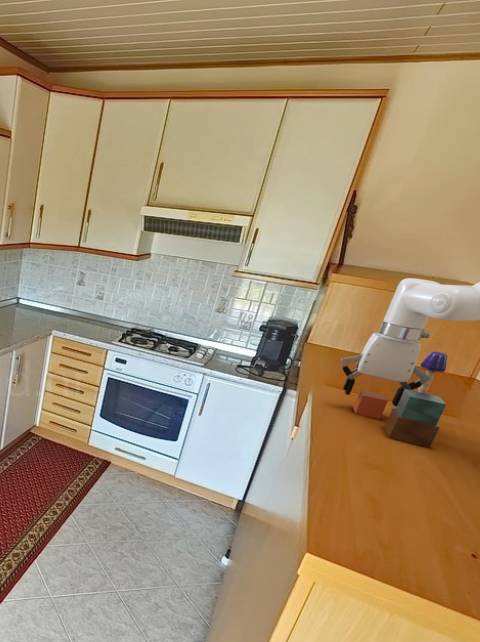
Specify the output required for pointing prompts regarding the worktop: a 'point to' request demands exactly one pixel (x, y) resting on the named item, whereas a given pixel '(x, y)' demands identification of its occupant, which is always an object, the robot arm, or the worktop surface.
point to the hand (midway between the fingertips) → (370, 398)
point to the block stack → (415, 418)
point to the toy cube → (370, 404)
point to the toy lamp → (433, 367)
